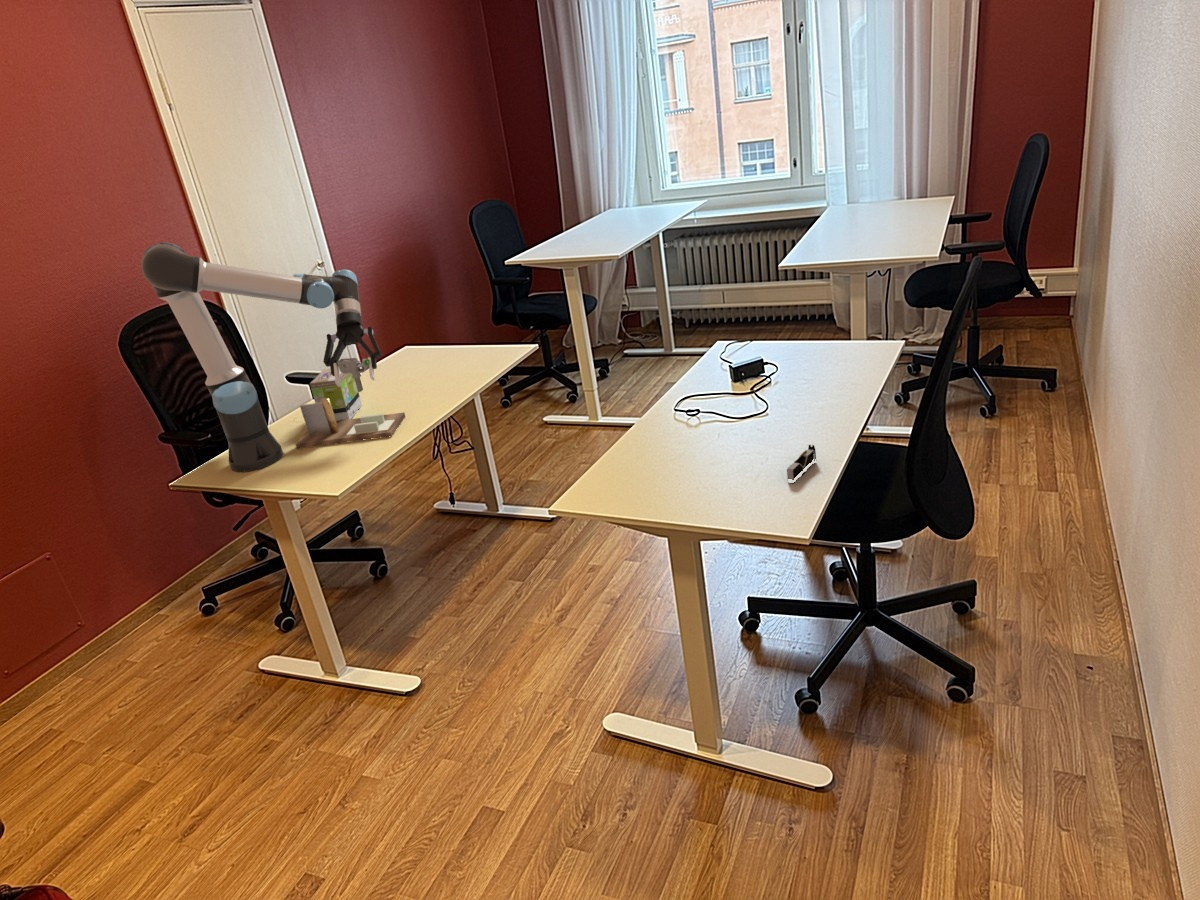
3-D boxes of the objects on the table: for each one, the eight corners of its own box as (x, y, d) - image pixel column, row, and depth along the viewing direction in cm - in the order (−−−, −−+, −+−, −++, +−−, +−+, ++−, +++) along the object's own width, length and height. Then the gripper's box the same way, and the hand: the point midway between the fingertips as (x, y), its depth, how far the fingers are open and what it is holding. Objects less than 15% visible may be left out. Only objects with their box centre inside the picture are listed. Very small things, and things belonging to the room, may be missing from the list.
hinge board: (297, 448, 245) (284, 410, 240) (315, 428, 259) (304, 391, 254) (391, 436, 242) (381, 398, 237) (405, 416, 257) (395, 380, 252)
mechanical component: (373, 392, 240) (364, 360, 236) (343, 393, 243) (334, 362, 238) (378, 388, 242) (369, 357, 238) (348, 389, 245) (339, 358, 241)
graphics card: (810, 463, 188) (804, 444, 187) (820, 462, 186) (814, 443, 185) (787, 485, 180) (781, 465, 179) (798, 484, 178) (791, 464, 177)
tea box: (351, 421, 260) (338, 379, 254) (321, 426, 260) (307, 383, 254) (363, 405, 274) (351, 364, 268) (334, 409, 274) (322, 368, 268)
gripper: (387, 316, 250) (395, 380, 242) (316, 329, 249) (321, 393, 241) (381, 304, 243) (389, 368, 235) (308, 317, 242) (313, 382, 234)
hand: (355, 381), depth 238 cm, fingers closed on mechanical component, 9 cm apart
